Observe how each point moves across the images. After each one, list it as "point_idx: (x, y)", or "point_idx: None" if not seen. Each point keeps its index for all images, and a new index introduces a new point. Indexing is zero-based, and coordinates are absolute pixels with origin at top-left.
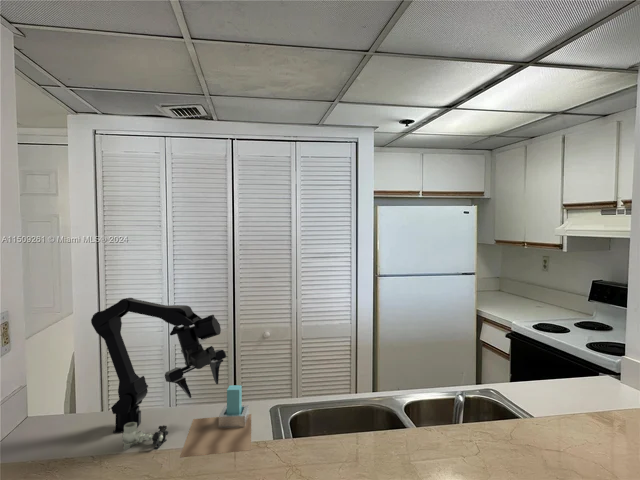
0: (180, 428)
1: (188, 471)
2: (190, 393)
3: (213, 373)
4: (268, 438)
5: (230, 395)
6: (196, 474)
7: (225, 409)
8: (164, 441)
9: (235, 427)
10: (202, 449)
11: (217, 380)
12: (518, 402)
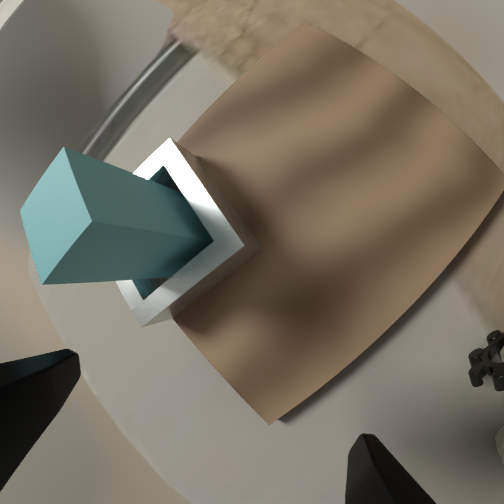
0: (340, 423)
1: (500, 114)
2: (374, 458)
3: (12, 437)
4: (201, 64)
5: (113, 203)
6: (487, 83)
7: (164, 287)
8: (483, 350)
9: (216, 184)
10: (430, 148)
11: (47, 359)
12: (17, 6)
